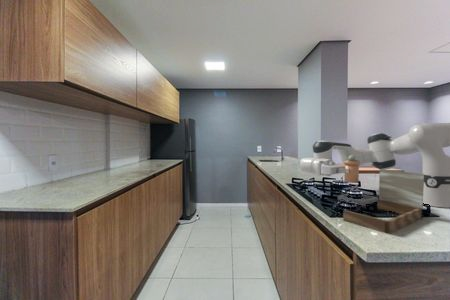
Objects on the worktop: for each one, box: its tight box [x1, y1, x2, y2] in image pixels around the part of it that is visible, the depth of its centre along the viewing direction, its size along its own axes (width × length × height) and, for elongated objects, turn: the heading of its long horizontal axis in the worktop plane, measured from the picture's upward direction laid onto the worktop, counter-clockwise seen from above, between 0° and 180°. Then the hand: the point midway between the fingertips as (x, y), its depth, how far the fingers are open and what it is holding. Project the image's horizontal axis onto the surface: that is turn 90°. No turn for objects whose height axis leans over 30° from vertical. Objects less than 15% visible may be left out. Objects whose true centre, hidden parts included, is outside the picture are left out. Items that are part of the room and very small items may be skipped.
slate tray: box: [337, 193, 379, 207], centre depth 127 cm, size 13×13×2 cm
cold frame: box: [342, 169, 424, 235], centre depth 100 cm, size 29×16×18 cm, turn 124°
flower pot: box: [344, 155, 360, 184], centre depth 120 cm, size 7×7×13 cm
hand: (353, 170), depth 119 cm, fingers closed on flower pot, 6 cm apart
